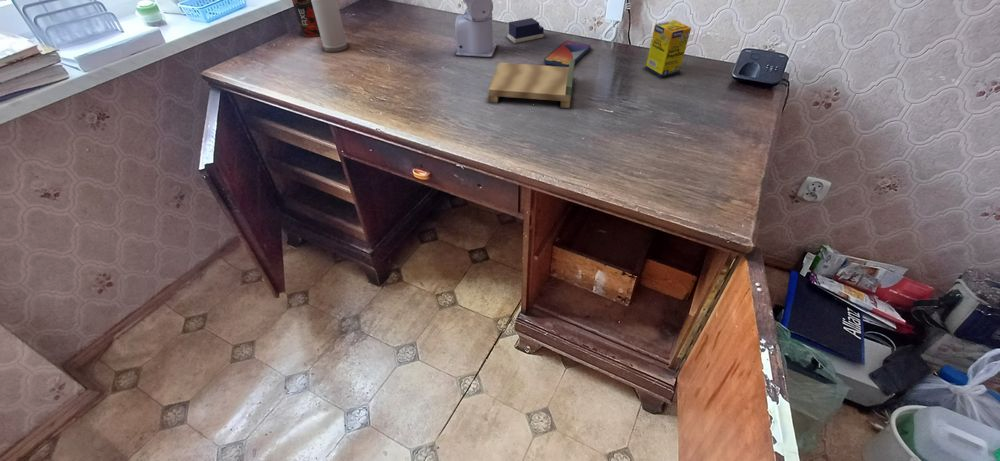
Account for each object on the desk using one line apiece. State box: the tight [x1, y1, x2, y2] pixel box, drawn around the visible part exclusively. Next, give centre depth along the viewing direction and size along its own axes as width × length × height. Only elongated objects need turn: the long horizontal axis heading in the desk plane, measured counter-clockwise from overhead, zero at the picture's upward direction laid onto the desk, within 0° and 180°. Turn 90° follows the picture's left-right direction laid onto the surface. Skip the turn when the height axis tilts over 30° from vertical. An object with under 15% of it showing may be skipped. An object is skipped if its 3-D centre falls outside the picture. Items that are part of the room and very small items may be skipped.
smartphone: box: [543, 40, 591, 67], centre depth 121 cm, size 7×15×1 cm, turn 151°
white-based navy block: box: [507, 17, 545, 44], centre depth 129 cm, size 9×4×4 cm, turn 116°
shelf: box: [488, 59, 576, 109], centre depth 106 cm, size 18×14×5 cm
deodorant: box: [291, 0, 320, 38], centre depth 129 cm, size 6×6×15 cm
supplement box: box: [645, 19, 692, 78], centre depth 111 cm, size 6×6×11 cm
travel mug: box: [311, 0, 349, 53], centre depth 119 cm, size 6×7×20 cm
